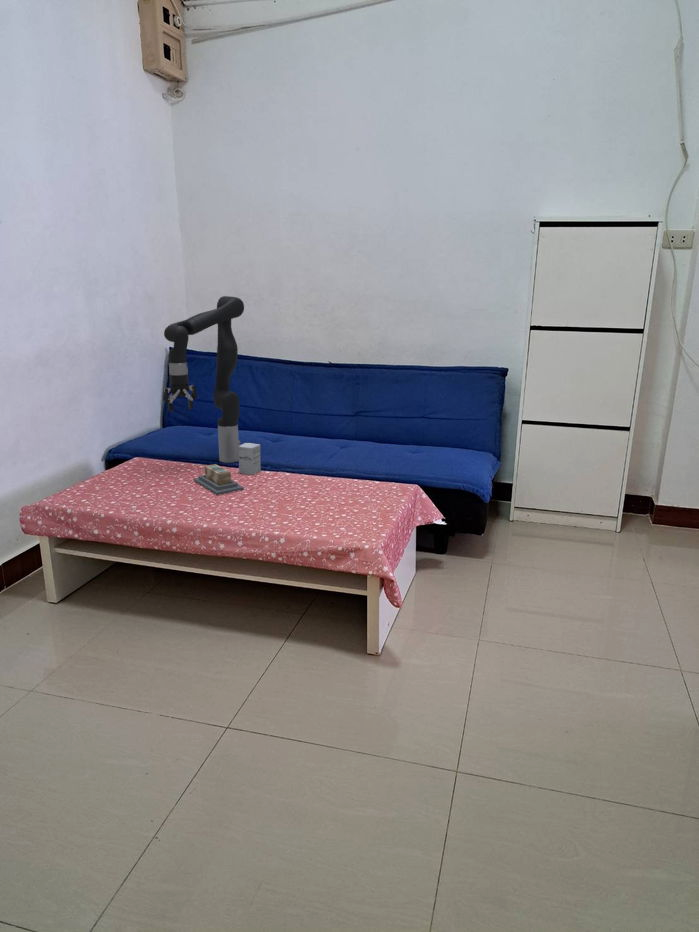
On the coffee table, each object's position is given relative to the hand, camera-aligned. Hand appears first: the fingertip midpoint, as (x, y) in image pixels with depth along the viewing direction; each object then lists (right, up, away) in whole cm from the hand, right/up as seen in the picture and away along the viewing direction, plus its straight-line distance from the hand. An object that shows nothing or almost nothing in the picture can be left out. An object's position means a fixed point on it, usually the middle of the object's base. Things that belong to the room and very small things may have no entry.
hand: (180, 410), depth 285 cm
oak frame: (+18, -31, -9) cm, 37 cm away
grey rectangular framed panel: (+18, -32, -9) cm, 38 cm away
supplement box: (+28, -27, +10) cm, 40 cm away
